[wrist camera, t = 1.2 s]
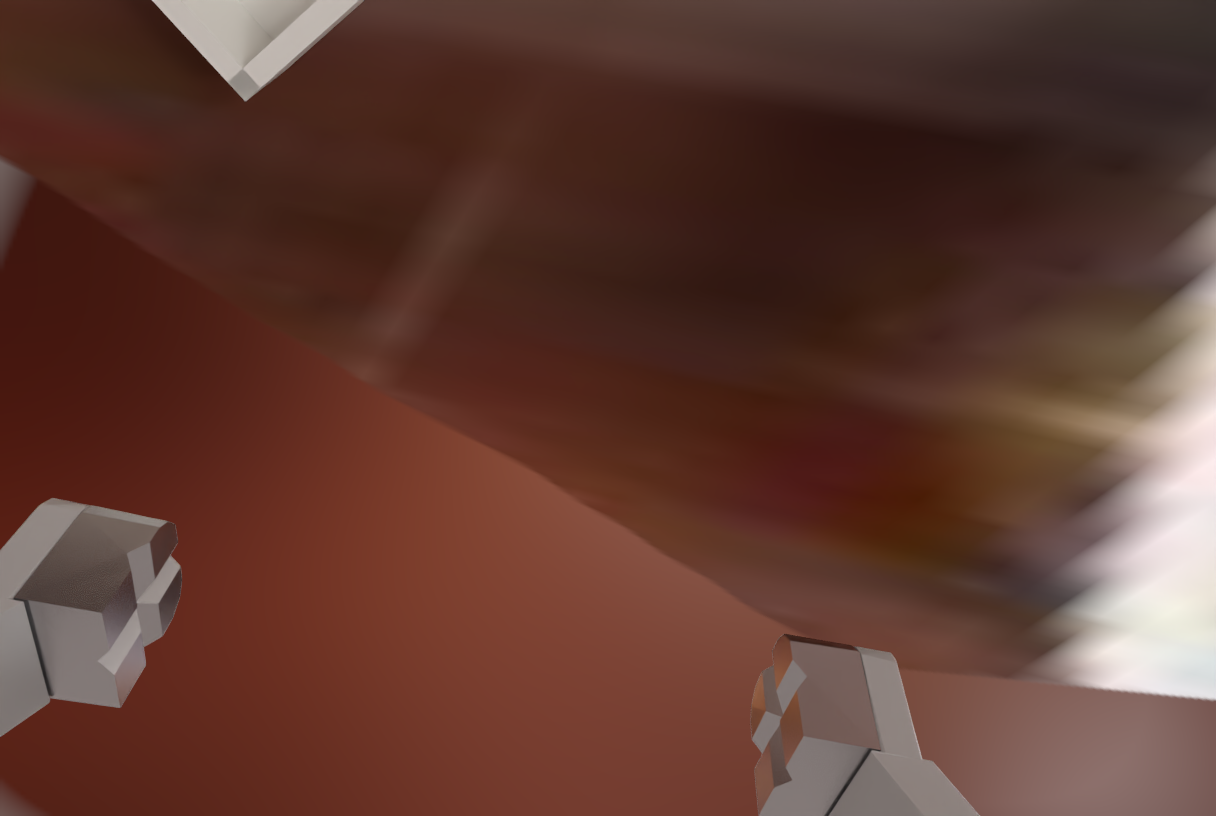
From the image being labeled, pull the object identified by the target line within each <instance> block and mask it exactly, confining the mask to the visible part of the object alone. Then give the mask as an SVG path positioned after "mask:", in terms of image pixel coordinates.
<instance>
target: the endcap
mask: <svg viewBox="0 0 1216 816" xmlns="http://www.w3.org/2000/svg"><path fill="white" fill-rule="evenodd" d="M152 1H153V2H154V3H155V4H156V5H157V6H158V7H159V9H160V10H161V11H162V12H163V13H164V14H165V15H166V16H167V17H168V18H169V19H170V20H171V22H172V23H173V24H174V25H175V26H176V27H177V28H178V29H179V30H180V31H181V32H182V33H183V35H184V36H185V37H186V38H187V39H188V40H189V41H190V42H191V43H192V44H193V45H194V46H195V48H196V49H197V50H198V51H199V52H200V53H201V54H202V55H203V56H204V57H205V58H206V59H207V61H208V62H209V63H210V64H211V65H212V66H213V67H214V68H215V69H216V70H217V71H218V72H219V74H220V75H221V76H222V77H223V78H224V79H225V80H226V81H227V82H228V83H229V84H230V85H231V87H232V88H233V89H234V90H235V91H236V92H237V93H238V94H239V95H240V96H241V97H242V98H243V100H244V101H245V102H246V101H247V100H248V99H249V98H251V97H252V96H253V95H255V94H256V93H257V92H258V91H260V90H261V89H262V88H264V87H265V86H266V85H268V84H269V83H270V82H271V81H273V80H274V79H275V78H277V77H278V76H279V75H280V74H282V73H283V72H284V71H286V70H287V69H288V68H289V67H290V66H291V65H292V64H293V63H295V62H296V61H297V60H298V59H299V58H300V57H301V56H302V55H304V54H305V53H306V52H307V51H308V50H309V49H310V48H311V47H313V46H314V45H315V44H316V43H317V42H318V41H319V40H320V39H322V38H323V37H324V36H325V35H326V34H327V33H328V32H329V31H331V30H332V29H333V28H334V27H335V26H336V25H337V24H339V23H340V22H341V21H342V20H343V19H344V18H345V17H346V16H348V15H349V14H350V13H351V12H352V11H353V10H354V9H355V8H357V7H358V6H359V5H360V4H361V3H362V2H363V1H364V0H152Z"/></svg>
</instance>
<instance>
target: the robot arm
mask: <svg viewBox="0 0 1216 816" xmlns="http://www.w3.org/2000/svg"><path fill="white" fill-rule="evenodd" d="M177 543H178V539H177V533H176V526H175V524H173V523H171V522H168V521H164V520H159V519H154V518H149V517H144V516H140V515H135V514H130V513H126V512H120V511H116V510H111V509H106V508H102V507H97V506H90V505H85V504H80V503H75V502H70V501H65V500H60V499H55V498H51V499H50V500H48V501H46V502H44V503H42V504H41V505H39V506H38V507H37V508H36V509H35V511H34V512H33V513H32V514H31V515H30V516H29V518H28V519H27V520H26V521H25V522H24V523H23V525H22V526H21V527H20V528H19V529H18V530H17V531H16V533H15V534H14V535H13V536H12V537H11V539H10V540H9V541H8V542H7V543H6V544H5V545H4V547H3V548H2V549H1V550H0V737H1V736H2V735H3V734H5V733H6V732H8V731H9V730H11V729H12V728H14V727H15V726H16V725H18V724H19V723H21V722H22V721H23V720H25V719H26V718H28V717H29V716H31V715H32V714H34V713H35V712H37V711H38V710H39V709H41V708H42V707H44V706H45V705H47V704H48V703H49V702H50V698H54V699H61V700H68V701H75V702H83V703H89V704H96V705H104V706H111V707H118V708H121V706H122V704H123V702H124V701H125V699H126V697H127V696H128V694H129V692H130V690H131V689H132V687H133V686H134V684H135V682H136V681H137V679H138V677H139V675H140V674H141V672H142V670H143V669H144V667H145V665H146V661H145V654H144V646H147V645H148V644H150V643H152V642H153V641H155V640H157V639H159V638H160V637H162V636H163V634H164V632H165V631H166V629H167V627H168V625H169V624H170V622H171V620H172V618H173V616H174V613H175V610H176V607H177V604H178V601H179V598H180V593H181V584H182V574H181V566H180V565H179V564H178V563H177V562H176V561H175V560H174V559H173V558H172V557H171V553H172V551H173V550H174V548H175V547H176V545H177ZM772 654H773V664H774V665H773V666H771V667H769V668H768V669H766V670H764V671H762V673H761V675H760V677H759V680H758V682H757V684H756V687H755V691H754V696H753V700H752V705H751V734H752V740H753V741H754V743H755V744H756V746H757V747H758V748H759V749H760V751H761V752H762V756H761V757H760V759H759V761H758V764H757V765H756V768H755V769H754V770H755V781H756V792H757V803H758V814H759V816H980V815H978V813H977V812H976V811H975V810H974V808H973V807H972V806H971V805H970V804H969V803H968V801H967V800H966V799H965V798H964V797H963V796H962V795H961V793H960V792H959V791H958V790H957V789H956V788H955V787H954V785H953V784H952V783H951V782H950V781H949V780H948V778H947V777H946V776H945V775H944V774H943V773H942V772H941V770H940V769H939V768H938V767H937V766H936V765H935V764H934V762H933V761H929V760H924V759H922V757H921V753H920V749H919V745H918V742H917V738H916V734H915V730H914V726H913V723H912V719H911V715H910V711H909V707H908V704H907V700H906V696H905V692H904V688H903V685H902V681H901V677H900V673H899V669H898V666H897V662H896V659H895V658H894V656H893V655H892V654H891V653H889V652H883V651H878V650H872V649H867V648H861V647H853V646H851V645H846V644H841V643H835V642H829V641H823V640H817V639H811V638H806V637H800V636H793V635H788V634H783V635H782V636H781V637H780V638H779V639H778V640H777V642H776V644H775V646H774V648H773V650H772Z"/></svg>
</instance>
